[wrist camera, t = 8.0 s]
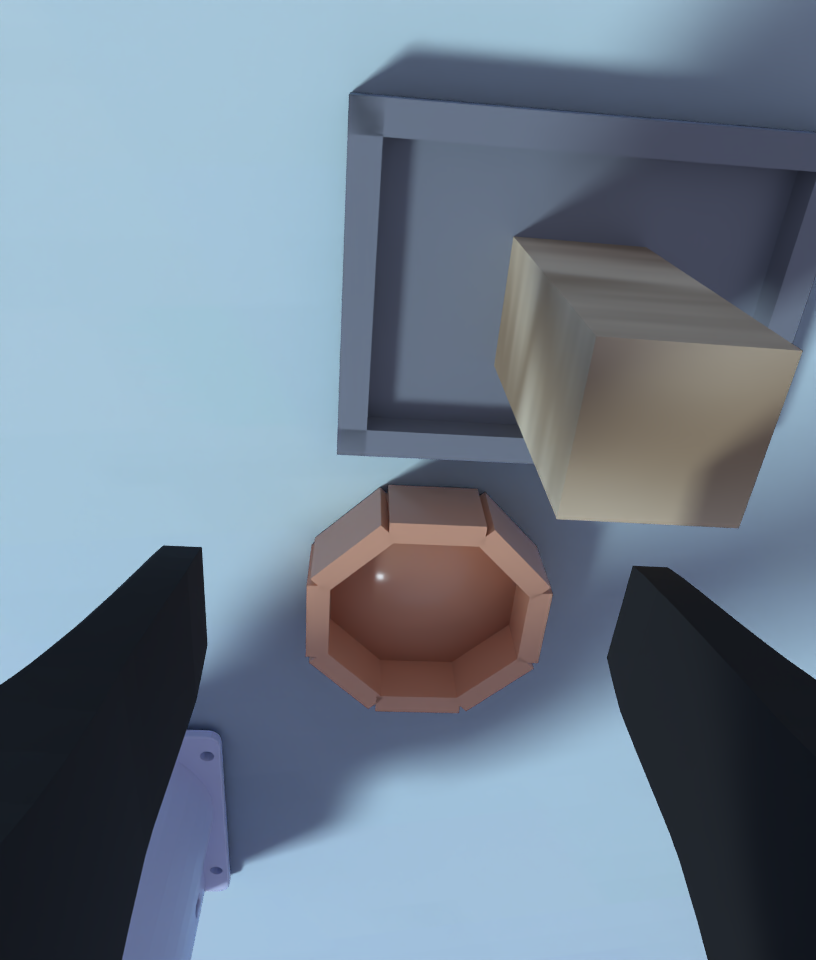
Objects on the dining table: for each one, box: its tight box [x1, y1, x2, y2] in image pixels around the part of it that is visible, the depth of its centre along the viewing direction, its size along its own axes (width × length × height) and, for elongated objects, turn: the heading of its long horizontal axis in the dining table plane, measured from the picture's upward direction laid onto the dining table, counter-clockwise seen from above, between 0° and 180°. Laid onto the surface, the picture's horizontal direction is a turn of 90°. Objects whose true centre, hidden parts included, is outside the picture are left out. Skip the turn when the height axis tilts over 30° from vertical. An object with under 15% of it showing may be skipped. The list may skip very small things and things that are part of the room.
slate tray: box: [337, 92, 816, 464], centre depth 20 cm, size 9×12×2 cm
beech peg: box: [494, 236, 803, 528], centre depth 16 cm, size 4×4×8 cm
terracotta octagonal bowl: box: [306, 485, 553, 713], centre depth 24 cm, size 8×8×2 cm
